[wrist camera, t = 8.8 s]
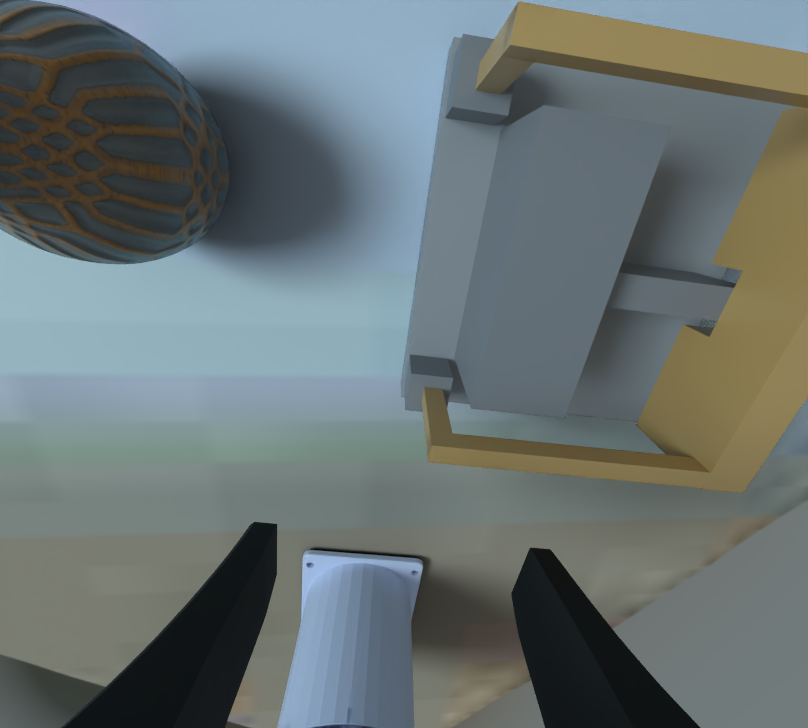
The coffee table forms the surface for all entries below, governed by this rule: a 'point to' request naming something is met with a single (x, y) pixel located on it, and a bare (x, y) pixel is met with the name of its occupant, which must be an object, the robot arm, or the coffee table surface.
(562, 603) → the robot arm
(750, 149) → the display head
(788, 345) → the tan bracket frame
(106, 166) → the vase
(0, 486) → the coffee table surface
